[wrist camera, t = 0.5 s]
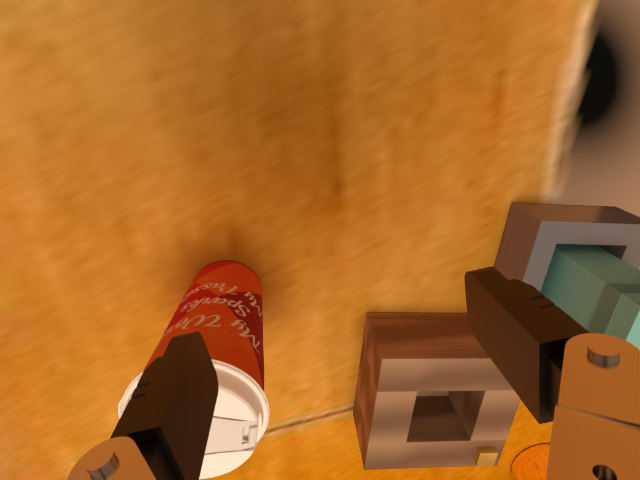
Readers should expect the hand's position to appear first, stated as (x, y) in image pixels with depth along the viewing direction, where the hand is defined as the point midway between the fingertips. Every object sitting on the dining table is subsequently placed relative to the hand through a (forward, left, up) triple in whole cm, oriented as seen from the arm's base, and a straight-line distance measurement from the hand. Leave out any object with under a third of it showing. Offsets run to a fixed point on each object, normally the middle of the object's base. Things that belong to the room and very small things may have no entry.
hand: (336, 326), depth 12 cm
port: (+18, +12, -19) cm, 29 cm away
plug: (+6, +21, -18) cm, 28 cm away
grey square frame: (+6, +21, -19) cm, 29 cm away
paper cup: (+10, -6, -19) cm, 23 cm away
